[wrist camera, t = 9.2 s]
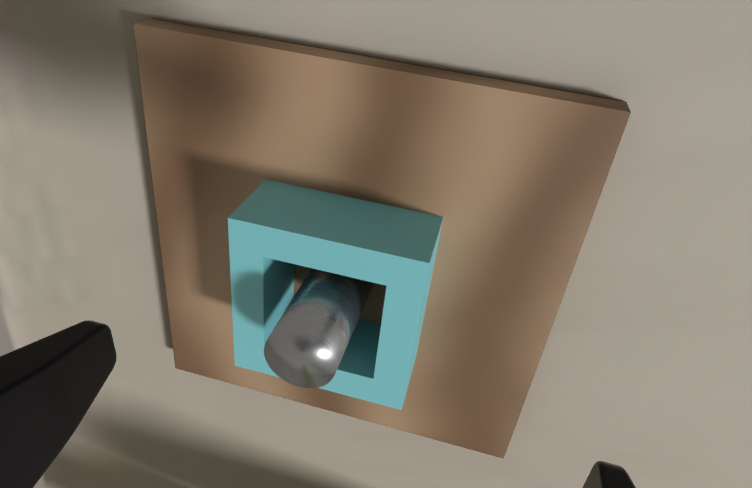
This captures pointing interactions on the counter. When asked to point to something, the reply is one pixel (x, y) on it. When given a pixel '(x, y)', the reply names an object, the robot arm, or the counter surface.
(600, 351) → the counter surface
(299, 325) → the post
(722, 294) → the counter surface
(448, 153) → the base plate
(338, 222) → the ring
